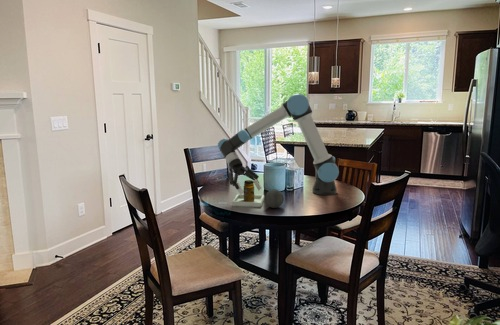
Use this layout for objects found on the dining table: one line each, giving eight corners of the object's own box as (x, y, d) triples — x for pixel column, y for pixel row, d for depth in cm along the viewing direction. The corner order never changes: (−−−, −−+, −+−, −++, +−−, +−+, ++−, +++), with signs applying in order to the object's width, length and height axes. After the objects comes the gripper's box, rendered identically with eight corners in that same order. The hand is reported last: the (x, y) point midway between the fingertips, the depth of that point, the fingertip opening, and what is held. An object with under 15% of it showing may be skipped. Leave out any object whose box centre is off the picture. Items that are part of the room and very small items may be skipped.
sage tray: (264, 199, 207) (264, 195, 206) (261, 207, 191) (261, 202, 191) (237, 198, 209) (237, 194, 209) (232, 206, 194) (232, 201, 193)
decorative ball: (261, 208, 189) (261, 190, 187) (271, 203, 197) (271, 186, 196) (278, 211, 184) (278, 192, 182) (287, 206, 192) (287, 188, 190)
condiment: (257, 202, 199) (257, 181, 197) (244, 204, 194) (244, 183, 192) (250, 199, 205) (250, 179, 203) (237, 201, 200) (237, 181, 198)
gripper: (247, 163, 216) (264, 191, 208) (214, 168, 200) (231, 199, 192) (252, 155, 212) (270, 183, 203) (219, 160, 195) (237, 191, 187)
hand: (251, 191), depth 197 cm, fingers open, 13 cm apart
